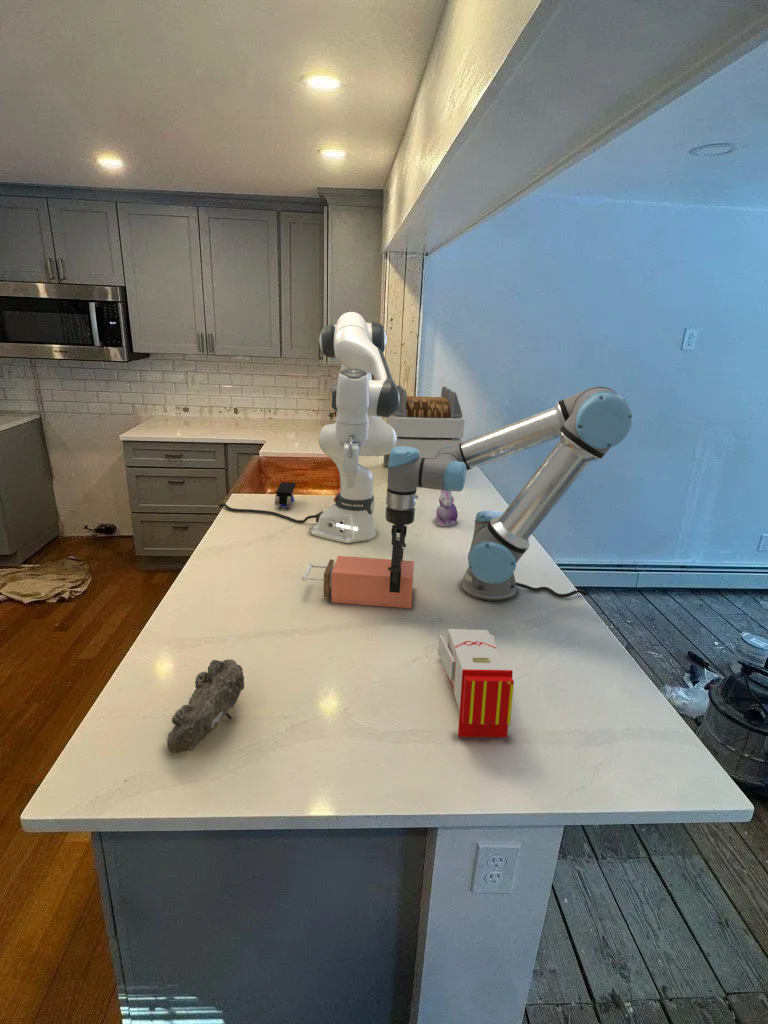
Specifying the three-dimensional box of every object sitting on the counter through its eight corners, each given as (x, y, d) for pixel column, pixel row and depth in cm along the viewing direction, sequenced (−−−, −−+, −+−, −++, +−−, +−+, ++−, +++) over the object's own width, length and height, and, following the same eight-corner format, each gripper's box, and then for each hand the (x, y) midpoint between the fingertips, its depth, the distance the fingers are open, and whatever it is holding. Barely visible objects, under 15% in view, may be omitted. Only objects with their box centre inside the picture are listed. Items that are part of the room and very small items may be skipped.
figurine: (442, 528, 206) (446, 489, 201) (428, 519, 214) (431, 481, 209) (464, 525, 210) (468, 486, 205) (449, 516, 218) (452, 479, 213)
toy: (488, 613, 130) (523, 677, 101) (484, 667, 133) (517, 744, 104) (435, 612, 130) (455, 676, 101) (432, 666, 133) (451, 743, 103)
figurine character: (292, 514, 217) (296, 498, 230) (291, 496, 214) (296, 480, 227) (274, 514, 217) (280, 497, 230) (273, 496, 213) (279, 480, 227)
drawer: (301, 595, 152) (301, 572, 150) (308, 579, 161) (308, 557, 159) (398, 603, 151) (399, 579, 149) (400, 586, 160) (401, 564, 158)
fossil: (192, 660, 117) (244, 628, 112) (224, 691, 120) (276, 661, 115) (142, 746, 98) (202, 712, 93) (182, 779, 101) (242, 748, 96)
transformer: (382, 463, 289) (386, 382, 275) (445, 464, 293) (451, 384, 279) (390, 482, 257) (394, 392, 243) (460, 483, 261) (468, 394, 247)
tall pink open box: (331, 602, 152) (331, 572, 149) (337, 584, 162) (337, 555, 159) (411, 608, 151) (413, 578, 148) (412, 589, 161) (414, 561, 158)
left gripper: (363, 440, 140) (361, 494, 145) (364, 426, 160) (363, 473, 164) (337, 440, 140) (337, 493, 145) (342, 425, 160) (341, 473, 164)
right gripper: (413, 524, 135) (408, 603, 142) (416, 492, 158) (411, 561, 166) (382, 522, 135) (378, 601, 143) (389, 491, 159) (385, 559, 166)
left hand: (351, 482), depth 155 cm, fingers open, 8 cm apart
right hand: (395, 580), depth 154 cm, fingers open, 13 cm apart
